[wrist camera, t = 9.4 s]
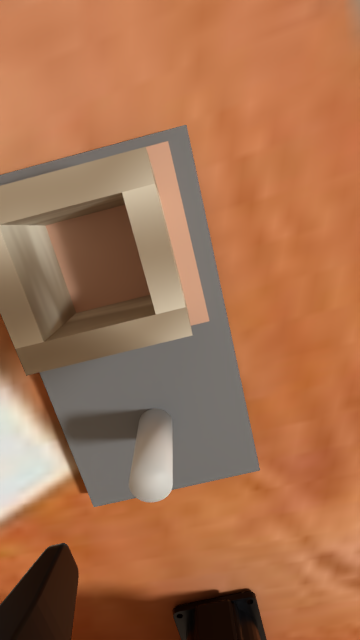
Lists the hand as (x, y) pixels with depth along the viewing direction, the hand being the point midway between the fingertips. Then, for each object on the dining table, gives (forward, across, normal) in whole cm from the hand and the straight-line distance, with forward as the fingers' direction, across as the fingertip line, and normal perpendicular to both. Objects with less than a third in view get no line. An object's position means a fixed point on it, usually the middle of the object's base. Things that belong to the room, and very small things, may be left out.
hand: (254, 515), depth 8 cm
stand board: (+12, +4, -1) cm, 13 cm away
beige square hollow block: (+11, +4, -6) cm, 13 cm away
